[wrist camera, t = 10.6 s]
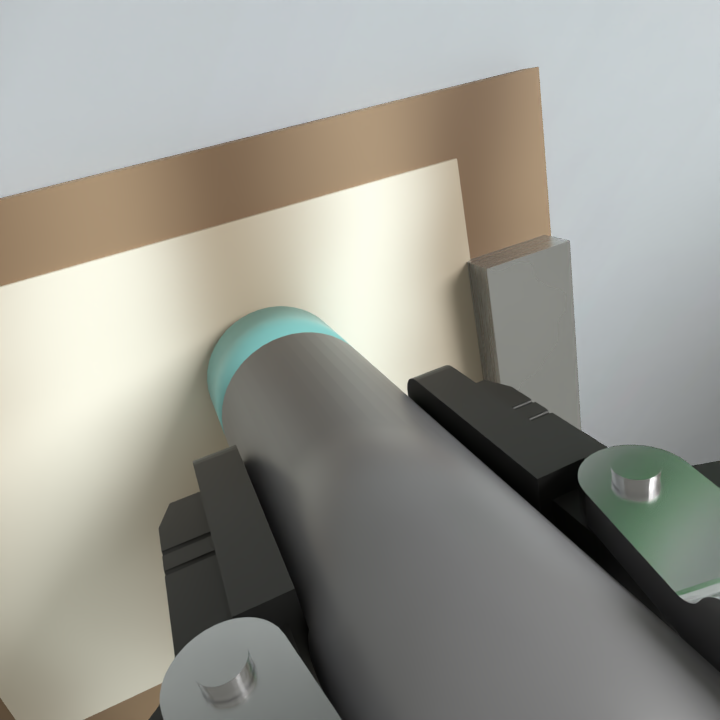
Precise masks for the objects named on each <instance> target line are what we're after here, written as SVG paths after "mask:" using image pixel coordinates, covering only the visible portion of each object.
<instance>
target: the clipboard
mask: <svg viewBox="0 0 720 720" xmlns="http://www.w3.org/2000/svg"><path fill="white" fill-rule="evenodd" d="M276 306H288V307H295V308H299V309H302V310H305V311H308V312H310V313H312V314H314V315H315V316H317V317H319V318H320V319H321V320H322V321H324V322H325V323H326V324H327V325H328V326H329V327H330V328H332V329H333V330H334V331H335V332H336V333H337V334H338V335H339V336H341V337H342V338H343V339H344V340H345V341H346V342H347V343H349V344H350V345H351V346H352V347H353V348H354V349H355V350H356V351H358V352H359V353H360V354H361V355H362V356H363V357H364V358H365V359H367V360H368V361H369V362H370V363H371V364H372V365H373V366H375V367H376V368H377V369H378V370H379V371H380V372H381V373H382V374H384V375H385V376H386V377H387V378H388V379H389V380H390V381H391V382H393V383H394V384H395V385H396V386H397V387H398V388H399V389H401V390H402V391H403V392H404V393H405V394H406V395H407V396H408V391H407V383H408V380H409V379H411V378H413V377H416V376H419V375H421V374H424V373H426V372H429V371H432V370H434V369H437V368H440V367H442V366H445V365H450V366H452V367H454V368H455V369H457V370H458V371H459V372H461V373H462V374H464V375H465V376H467V377H468V378H470V379H471V380H473V381H474V382H475V383H477V382H480V381H482V380H488V381H492V382H495V383H499V384H503V385H507V386H511V387H513V388H515V389H516V390H518V391H519V392H521V393H522V394H524V395H526V396H527V397H529V398H530V399H531V400H532V402H537V403H538V404H540V405H541V406H543V407H545V408H546V409H548V412H549V413H554V414H556V415H557V416H559V417H560V418H562V419H563V420H565V421H567V422H568V423H570V424H571V425H573V426H575V427H576V428H578V429H579V430H581V420H580V404H579V387H578V370H577V354H576V337H575V320H574V304H573V287H572V270H571V253H570V241H569V240H565V239H561V238H556V237H552V236H551V230H550V216H549V203H548V189H547V175H546V162H545V148H544V134H543V121H542V107H541V93H540V80H539V67H535V68H528V69H522V70H518V71H514V72H510V73H506V74H502V75H498V76H494V77H490V78H486V79H482V80H478V81H473V82H469V83H465V84H461V85H457V86H453V87H449V88H445V89H441V90H437V91H433V92H429V93H425V94H421V95H417V96H413V97H409V98H405V99H401V100H396V101H392V102H388V103H384V104H380V105H376V106H372V107H368V108H364V109H360V110H356V111H352V112H348V113H344V114H340V115H336V116H332V117H328V118H324V119H320V120H315V121H311V122H307V123H303V124H299V125H295V126H291V127H287V128H283V129H279V130H275V131H271V132H267V133H263V134H259V135H255V136H251V137H247V138H243V139H238V140H234V141H230V142H226V143H222V144H218V145H214V146H210V147H206V148H202V149H198V150H194V151H190V152H186V153H182V154H178V155H174V156H170V157H166V158H161V159H157V160H153V161H149V162H145V163H141V164H137V165H133V166H129V167H125V168H121V169H117V170H113V171H109V172H105V173H101V174H97V175H93V176H89V177H85V178H80V179H76V180H72V181H68V182H64V183H60V184H56V185H52V186H48V187H44V188H40V189H36V190H32V191H28V192H24V193H20V194H16V195H12V196H8V197H3V198H0V720H148V719H149V718H150V717H151V715H152V714H153V713H154V712H155V710H156V709H157V708H158V706H159V704H160V691H161V685H162V682H163V679H164V677H165V674H166V672H167V670H168V668H169V666H170V665H171V663H172V661H173V660H174V659H175V655H174V646H173V639H172V631H171V623H170V615H169V607H168V599H167V591H166V583H165V573H164V568H163V560H162V556H163V554H162V552H161V544H160V536H159V526H160V524H161V522H162V519H163V517H164V515H165V513H166V510H167V508H168V506H169V504H170V503H172V502H174V501H177V500H179V499H182V498H185V497H187V496H190V495H192V494H195V493H197V492H200V489H199V485H198V482H197V478H196V474H195V470H194V466H193V461H194V460H197V459H199V458H202V457H204V456H207V455H210V454H212V453H215V452H218V451H220V450H223V449H225V448H228V447H229V445H228V442H227V440H226V437H225V434H224V432H223V429H222V426H221V424H220V421H219V419H218V416H217V413H216V411H215V408H214V406H213V403H212V400H211V398H210V394H209V391H208V384H207V370H208V364H209V360H210V357H211V354H212V352H213V350H214V347H215V345H216V344H217V342H218V341H219V339H220V337H221V336H222V335H223V334H224V333H225V331H226V330H227V329H228V328H229V327H231V326H232V325H233V324H234V323H235V322H237V321H238V320H239V319H241V318H242V317H244V316H246V315H248V314H250V313H252V312H255V311H257V310H260V309H264V308H268V307H276Z"/></svg>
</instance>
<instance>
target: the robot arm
mask: <svg viewBox="0 0 720 720" xmlns="http://www.w3.org/2000/svg"><path fill="white" fill-rule="evenodd" d="M407 391H408V397H410V398H411V399H412V400H413V401H414V402H415V403H416V404H417V405H419V406H420V407H421V408H422V409H423V410H424V411H425V412H427V413H428V414H429V415H430V416H431V417H432V418H433V419H434V420H436V421H437V422H438V423H439V424H440V425H441V426H442V427H444V428H445V429H446V430H447V431H448V432H449V433H450V434H451V435H453V436H454V437H455V438H456V439H457V440H458V441H459V442H460V443H462V444H463V445H464V446H465V447H466V448H467V449H468V450H470V451H471V452H472V453H473V454H474V455H475V456H476V457H477V458H479V459H480V460H481V461H482V462H483V463H484V464H485V465H486V466H488V467H489V468H490V469H491V470H492V471H493V472H494V473H496V474H497V475H498V476H499V477H500V478H501V479H502V480H503V481H505V482H506V483H507V484H508V485H509V486H510V487H511V488H512V489H514V490H515V491H516V492H517V493H518V494H519V495H520V496H522V497H523V498H524V499H525V500H526V501H527V502H528V503H529V504H531V505H532V506H533V507H534V508H535V509H536V510H537V511H538V512H540V513H541V514H542V515H543V516H544V517H545V518H546V519H548V520H549V521H550V522H551V523H552V524H553V525H554V526H555V527H557V528H558V529H559V530H560V531H561V532H562V533H563V534H564V535H566V536H567V537H568V538H569V539H570V540H571V541H572V542H574V543H575V544H576V545H577V546H578V547H579V548H580V549H581V550H583V551H584V552H585V553H586V554H587V555H588V556H589V557H591V558H592V559H593V560H594V561H595V562H596V563H597V564H598V565H600V566H601V567H602V568H603V569H604V570H605V571H606V572H607V573H609V574H610V575H611V576H612V577H613V578H614V579H615V580H617V581H618V582H619V583H620V584H621V585H622V586H623V587H624V588H626V589H627V590H628V591H629V592H630V593H631V594H632V595H633V596H635V597H636V598H637V599H638V600H639V601H640V602H641V603H643V604H644V605H645V606H646V607H647V608H648V609H649V610H650V611H652V612H653V613H654V614H655V615H656V616H657V617H658V618H659V619H661V620H662V621H663V622H664V623H665V624H666V625H667V626H669V627H670V628H671V629H672V630H673V631H674V632H675V633H676V634H678V635H679V636H680V637H681V638H682V639H683V640H684V641H685V642H687V643H688V644H689V645H690V646H691V647H692V648H693V649H695V650H696V651H697V652H698V653H699V654H700V655H701V656H702V657H703V658H704V659H706V660H707V661H708V662H709V663H710V664H711V665H712V666H713V667H714V668H716V669H717V670H718V671H719V672H720V461H716V462H711V463H705V464H700V465H694V466H691V465H690V464H688V463H687V462H686V461H684V460H683V459H681V458H680V457H678V456H676V455H674V454H672V453H670V452H668V451H665V450H662V449H658V448H654V447H649V446H643V445H620V446H613V447H609V448H608V447H606V446H604V445H603V444H601V443H600V442H598V441H597V440H595V439H593V438H592V437H590V436H589V435H587V434H586V433H584V432H582V431H581V430H579V429H578V428H576V427H575V426H573V425H571V424H570V423H568V422H567V421H565V420H563V419H562V418H560V417H559V416H557V415H556V414H554V413H549V412H548V409H546V408H545V407H543V406H541V405H540V404H538V403H537V402H532V400H531V399H530V398H529V397H527V396H526V395H524V394H522V393H521V392H519V391H518V390H516V389H515V388H513V387H511V386H507V385H503V384H499V383H495V382H492V381H488V380H482V381H480V382H477V383H475V382H474V381H473V380H471V379H470V378H468V377H467V376H465V375H464V374H462V373H461V372H459V371H458V370H457V369H455V368H454V367H452V366H450V365H445V366H442V367H440V368H437V369H434V370H432V371H429V372H426V373H424V374H421V375H419V376H416V377H413V378H411V379H409V380H408V383H407ZM193 466H194V470H195V474H196V478H197V482H198V485H199V489H200V492H197V493H195V494H192V495H190V496H187V497H185V498H182V499H179V500H177V501H174V502H172V503H170V504H169V506H168V508H167V510H166V513H165V515H164V517H163V519H162V522H161V524H160V526H159V536H160V544H161V552H162V554H163V556H162V560H163V568H164V573H165V583H166V591H167V599H168V607H169V615H170V623H171V631H172V639H173V646H174V655H175V659H174V660H173V661H172V663H171V665H170V666H169V668H168V670H167V672H166V674H165V677H164V679H163V682H162V685H161V691H160V704H159V706H158V708H157V709H156V710H155V712H154V713H153V714H152V715H151V717H150V718H149V719H148V720H342V719H341V718H340V716H339V715H338V713H337V712H336V710H335V709H334V707H333V706H332V704H331V703H330V701H329V700H328V698H327V697H326V695H325V694H324V692H323V691H322V688H321V686H320V683H319V680H318V678H317V675H316V672H315V670H314V667H313V665H312V661H311V657H310V653H309V643H308V632H309V629H308V626H307V623H306V620H305V617H304V614H303V611H302V608H301V605H300V602H299V599H298V596H297V594H296V591H295V588H294V585H293V583H292V580H291V578H290V576H289V573H288V571H287V568H286V566H285V563H284V561H283V558H282V556H281V554H280V551H279V549H278V546H277V544H276V541H275V539H274V536H273V534H272V531H271V529H270V527H269V524H268V522H267V519H266V517H265V514H264V512H263V509H262V507H261V505H260V502H259V500H258V497H257V495H256V492H255V490H254V487H253V485H252V483H251V480H250V478H249V475H248V473H247V470H246V468H245V465H244V463H243V460H242V458H241V456H240V453H239V451H238V448H237V446H236V445H233V446H231V447H228V448H225V449H223V450H220V451H218V452H215V453H212V454H210V455H207V456H204V457H202V458H199V459H197V460H194V461H193Z"/></svg>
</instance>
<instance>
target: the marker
mask: <svg viewBox="0 0 720 720" xmlns="http://www.w3.org/2000/svg"><path fill="white" fill-rule="evenodd" d="M207 384H208V391H209V394H210V398H211V400H212V403H213V406H214V408H215V411H216V413H217V416H218V419H219V421H220V424H221V426H222V429H223V432H224V434H225V437H226V440H227V442H228V445H229V447H231V446H233V445H236V446H237V448H238V451H239V453H240V456H241V458H242V460H243V463H244V465H245V468H246V470H247V473H248V475H249V478H250V480H251V483H252V485H253V487H254V490H255V492H256V495H257V497H258V500H259V502H260V505H261V507H262V509H263V512H264V514H265V517H266V519H267V522H268V524H269V527H270V529H271V531H272V534H273V536H274V539H275V541H276V544H277V546H278V549H279V551H280V554H281V556H282V558H283V561H284V563H285V566H286V568H287V571H288V573H289V576H290V578H291V580H292V583H293V585H294V588H295V591H296V594H297V596H298V599H299V602H300V605H301V608H302V611H303V614H304V617H305V620H306V623H307V626H308V629H309V632H308V643H309V653H310V657H311V661H312V665H313V667H314V670H315V672H316V675H317V678H318V680H319V683H320V686H321V688H322V691H323V692H324V694H325V695H326V697H327V698H328V700H329V701H330V703H331V704H332V706H333V707H334V709H335V710H336V712H337V713H338V715H339V716H340V718H341V719H342V720H720V672H719V671H718V670H717V669H716V668H714V667H713V666H712V665H711V664H710V663H709V662H708V661H707V660H706V659H704V658H703V657H702V656H701V655H700V654H699V653H698V652H697V651H696V650H695V649H693V648H692V647H691V646H690V645H689V644H688V643H687V642H685V641H684V640H683V639H682V638H681V637H680V636H679V635H678V634H676V633H675V632H674V631H673V630H672V629H671V628H670V627H669V626H667V625H666V624H665V623H664V622H663V621H662V620H661V619H659V618H658V617H657V616H656V615H655V614H654V613H653V612H652V611H650V610H649V609H648V608H647V607H646V606H645V605H644V604H643V603H641V602H640V601H639V600H638V599H637V598H636V597H635V596H633V595H632V594H631V593H630V592H629V591H628V590H627V589H626V588H624V587H623V586H622V585H621V584H620V583H619V582H618V581H617V580H615V579H614V578H613V577H612V576H611V575H610V574H609V573H607V572H606V571H605V570H604V569H603V568H602V567H601V566H600V565H598V564H597V563H596V562H595V561H594V560H593V559H592V558H591V557H589V556H588V555H587V554H586V553H585V552H584V551H583V550H581V549H580V548H579V547H578V546H577V545H576V544H575V543H574V542H572V541H571V540H570V539H569V538H568V537H567V536H566V535H564V534H563V533H562V532H561V531H560V530H559V529H558V528H557V527H555V526H554V525H553V524H552V523H551V522H550V521H549V520H548V519H546V518H545V517H544V516H543V515H542V514H541V513H540V512H538V511H537V510H536V509H535V508H534V507H533V506H532V505H531V504H529V503H528V502H527V501H526V500H525V499H524V498H523V497H522V496H520V495H519V494H518V493H517V492H516V491H515V490H514V489H512V488H511V487H510V486H509V485H508V484H507V483H506V482H505V481H503V480H502V479H501V478H500V477H499V476H498V475H497V474H496V473H494V472H493V471H492V470H491V469H490V468H489V467H488V466H486V465H485V464H484V463H483V462H482V461H481V460H480V459H479V458H477V457H476V456H475V455H474V454H473V453H472V452H471V451H470V450H468V449H467V448H466V447H465V446H464V445H463V444H462V443H460V442H459V441H458V440H457V439H456V438H455V437H454V436H453V435H451V434H450V433H449V432H448V431H447V430H446V429H445V428H444V427H442V426H441V425H440V424H439V423H438V422H437V421H436V420H434V419H433V418H432V417H431V416H430V415H429V414H428V413H427V412H425V411H424V410H423V409H422V408H421V407H420V406H419V405H417V404H416V403H415V402H414V401H413V400H412V399H411V398H410V397H408V396H407V395H406V394H405V393H404V392H403V391H402V390H401V389H399V388H398V387H397V386H396V385H395V384H394V383H393V382H391V381H390V380H389V379H388V378H387V377H386V376H385V375H384V374H382V373H381V372H380V371H379V370H378V369H377V368H376V367H375V366H373V365H372V364H371V363H370V362H369V361H368V360H367V359H365V358H364V357H363V356H362V355H361V354H360V353H359V352H358V351H356V350H355V349H354V348H353V347H352V346H351V345H350V344H349V343H347V342H346V341H345V340H344V339H343V338H342V337H341V336H339V335H338V334H337V333H336V332H335V331H334V330H333V329H332V328H330V327H329V326H328V325H327V324H326V323H325V322H324V321H322V320H321V319H320V318H319V317H317V316H315V315H314V314H312V313H310V312H308V311H305V310H302V309H299V308H295V307H288V306H276V307H268V308H264V309H260V310H257V311H255V312H252V313H250V314H248V315H246V316H244V317H242V318H241V319H239V320H238V321H237V322H235V323H234V324H233V325H232V326H231V327H229V328H228V329H227V330H226V331H225V333H224V334H223V335H222V336H221V337H220V339H219V341H218V342H217V344H216V345H215V347H214V350H213V352H212V354H211V357H210V360H209V364H208V370H207Z"/></svg>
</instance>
